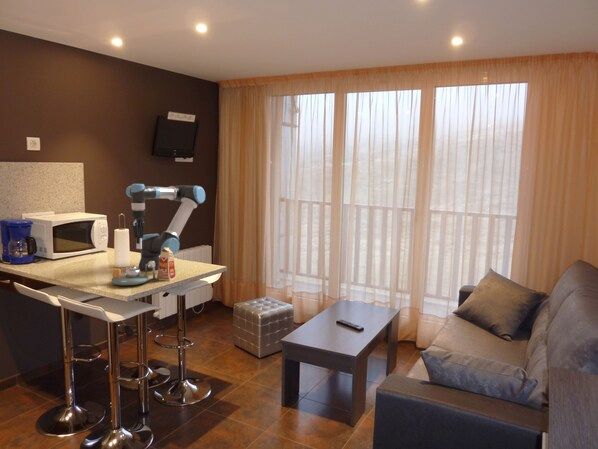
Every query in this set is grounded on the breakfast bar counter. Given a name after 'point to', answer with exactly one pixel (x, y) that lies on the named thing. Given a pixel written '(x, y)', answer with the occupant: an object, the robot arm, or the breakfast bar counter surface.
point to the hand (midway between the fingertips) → (139, 248)
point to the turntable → (124, 280)
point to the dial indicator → (152, 265)
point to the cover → (133, 272)
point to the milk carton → (166, 265)
